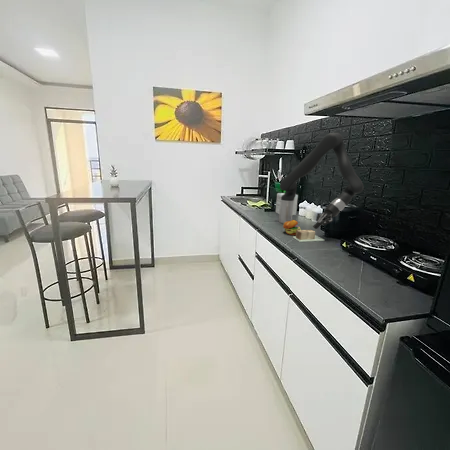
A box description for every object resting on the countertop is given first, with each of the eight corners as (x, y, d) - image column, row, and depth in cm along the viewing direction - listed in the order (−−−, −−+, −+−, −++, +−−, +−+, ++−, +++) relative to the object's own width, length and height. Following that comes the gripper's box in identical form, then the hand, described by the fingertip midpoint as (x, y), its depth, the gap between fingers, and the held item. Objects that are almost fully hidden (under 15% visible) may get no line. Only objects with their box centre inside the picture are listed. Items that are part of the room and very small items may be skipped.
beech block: (310, 236, 153) (295, 237, 151) (311, 229, 152) (296, 230, 150) (314, 239, 149) (299, 239, 147) (315, 231, 148) (300, 232, 146)
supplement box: (288, 211, 229) (289, 192, 224) (296, 215, 217) (298, 194, 212) (275, 212, 225) (276, 193, 220) (282, 215, 213) (284, 195, 208)
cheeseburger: (302, 236, 155) (300, 221, 153) (285, 238, 158) (282, 223, 156) (301, 231, 165) (298, 217, 163) (284, 234, 168) (282, 220, 165)
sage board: (315, 236, 157) (316, 235, 157) (324, 240, 148) (324, 239, 148) (292, 237, 153) (292, 236, 153) (300, 242, 145) (300, 241, 145)
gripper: (325, 201, 154) (305, 221, 155) (339, 205, 142) (317, 226, 142) (331, 209, 157) (311, 229, 157) (345, 214, 144) (324, 235, 145)
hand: (314, 228), depth 150 cm, fingers closed
